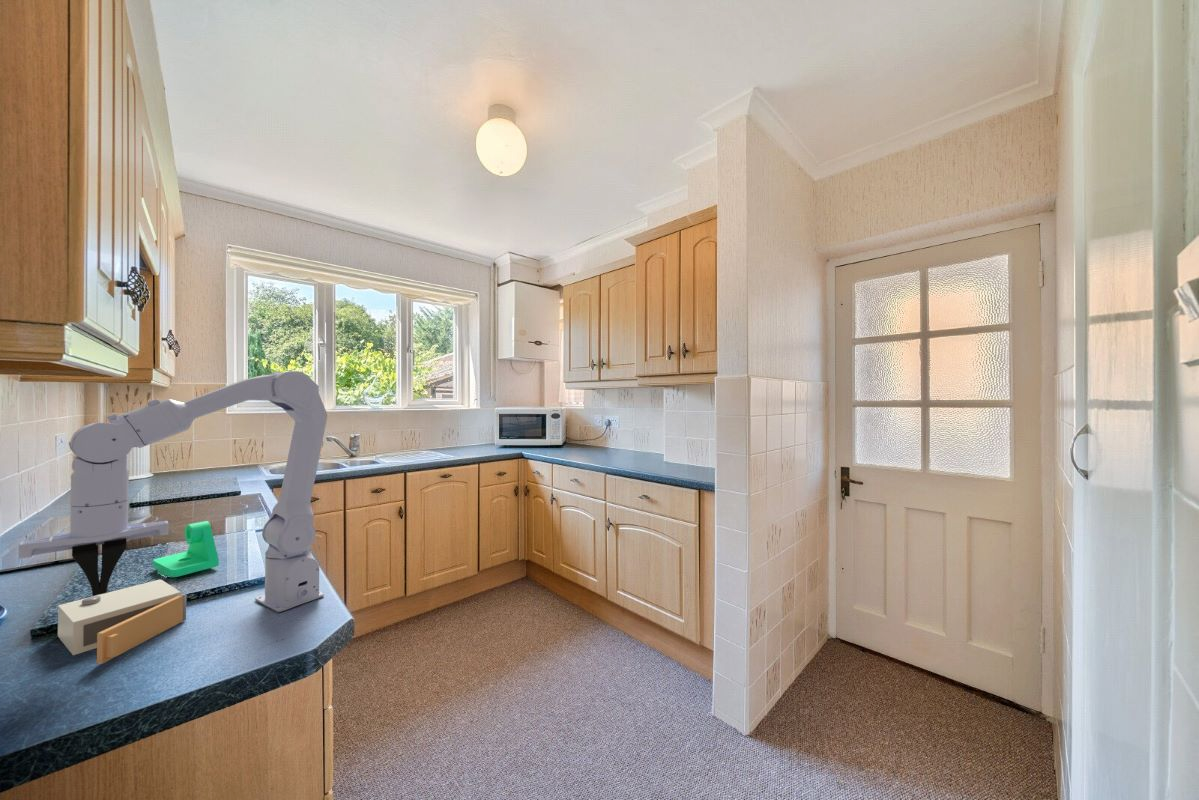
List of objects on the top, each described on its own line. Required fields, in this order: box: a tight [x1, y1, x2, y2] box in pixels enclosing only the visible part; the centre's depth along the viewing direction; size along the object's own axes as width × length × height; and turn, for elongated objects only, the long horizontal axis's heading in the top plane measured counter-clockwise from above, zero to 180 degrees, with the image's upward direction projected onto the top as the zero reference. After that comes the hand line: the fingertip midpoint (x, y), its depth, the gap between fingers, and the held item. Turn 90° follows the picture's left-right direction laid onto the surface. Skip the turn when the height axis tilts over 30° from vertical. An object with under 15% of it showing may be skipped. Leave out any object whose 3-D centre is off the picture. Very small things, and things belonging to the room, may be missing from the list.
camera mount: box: [152, 520, 219, 578], centre depth 97 cm, size 12×8×10 cm, turn 61°
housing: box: [57, 579, 182, 656], centre depth 73 cm, size 11×12×6 cm
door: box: [96, 593, 187, 665], centre depth 69 cm, size 13×2×4 cm, turn 0°
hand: (99, 592), depth 65 cm, fingers closed
